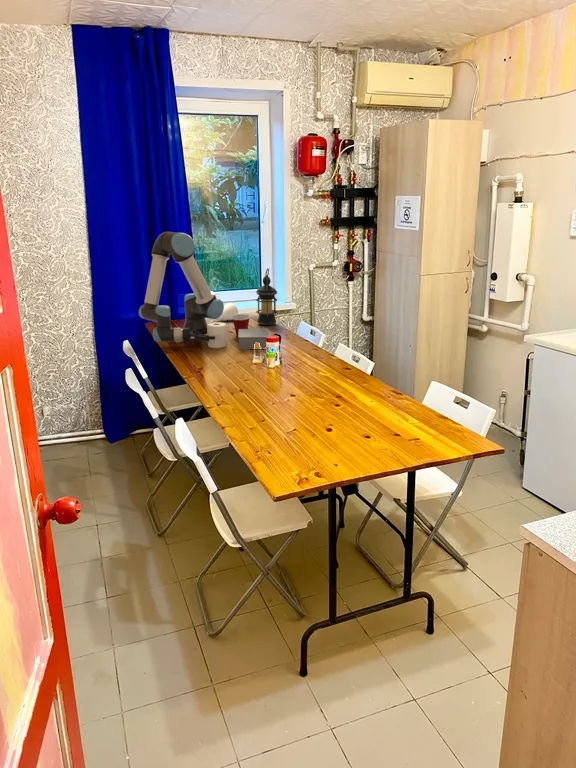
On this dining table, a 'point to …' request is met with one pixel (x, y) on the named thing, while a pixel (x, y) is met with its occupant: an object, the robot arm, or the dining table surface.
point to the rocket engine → (227, 313)
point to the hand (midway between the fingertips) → (222, 334)
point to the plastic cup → (240, 322)
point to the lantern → (266, 302)
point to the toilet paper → (217, 329)
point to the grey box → (252, 338)
